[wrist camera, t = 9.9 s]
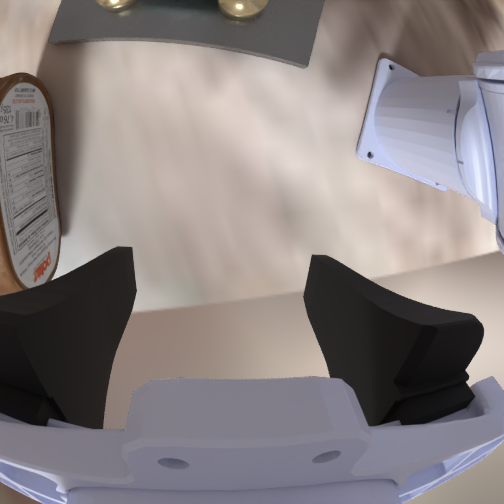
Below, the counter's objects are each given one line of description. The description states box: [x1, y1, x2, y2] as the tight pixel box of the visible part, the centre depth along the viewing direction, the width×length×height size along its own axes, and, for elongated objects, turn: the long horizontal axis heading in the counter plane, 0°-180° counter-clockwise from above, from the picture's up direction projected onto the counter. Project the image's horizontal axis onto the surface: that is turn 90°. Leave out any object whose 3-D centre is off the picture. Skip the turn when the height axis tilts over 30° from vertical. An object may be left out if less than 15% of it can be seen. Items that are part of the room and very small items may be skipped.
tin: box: [0, 73, 61, 296], centre depth 14 cm, size 15×3×8 cm, turn 175°
